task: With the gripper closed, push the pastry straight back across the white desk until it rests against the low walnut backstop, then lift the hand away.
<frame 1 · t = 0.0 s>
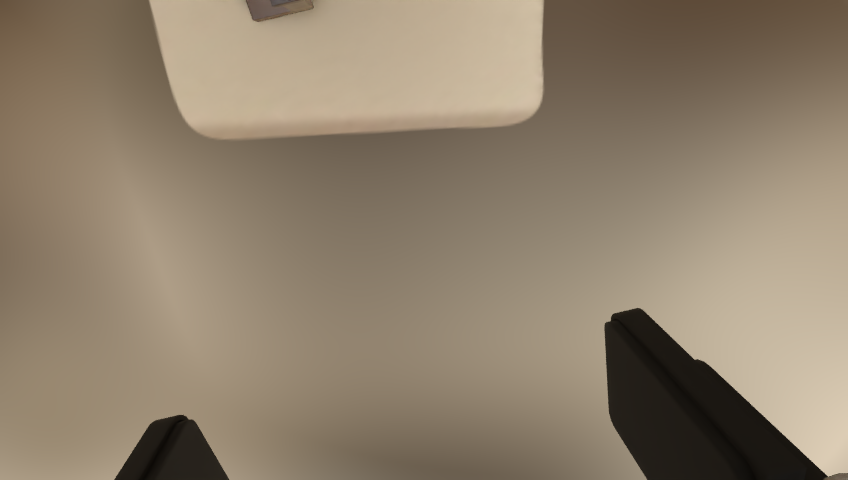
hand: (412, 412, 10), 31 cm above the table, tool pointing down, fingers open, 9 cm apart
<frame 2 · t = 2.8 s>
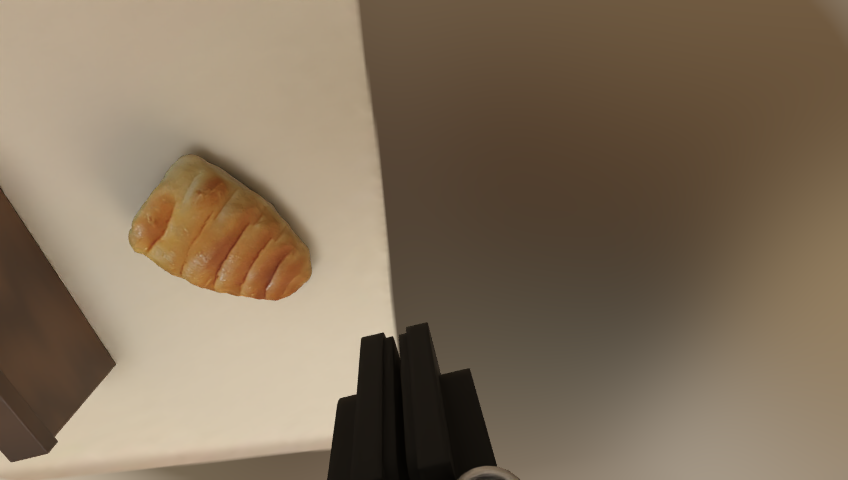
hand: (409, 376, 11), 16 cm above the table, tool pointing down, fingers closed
pastry: (230, 223, 25), on the table
backstop: (43, 276, 25), on the table
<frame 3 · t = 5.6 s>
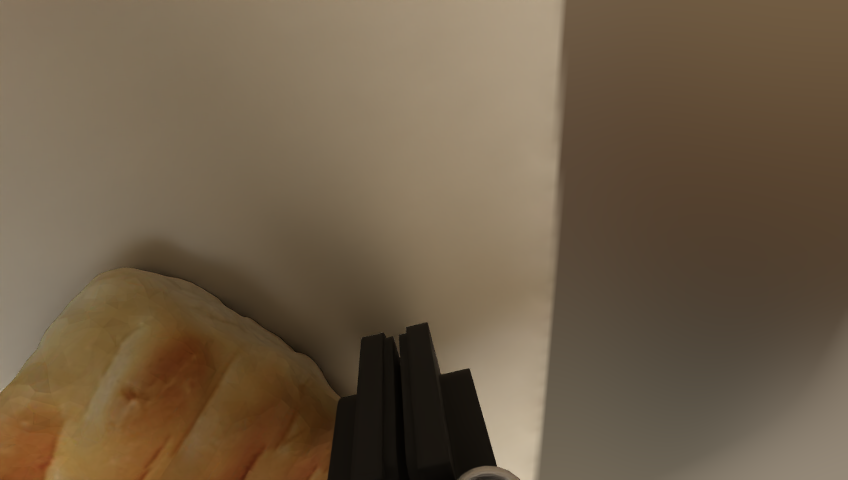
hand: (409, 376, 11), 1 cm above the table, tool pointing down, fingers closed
pastry: (221, 390, 12), on the table, touching gripper
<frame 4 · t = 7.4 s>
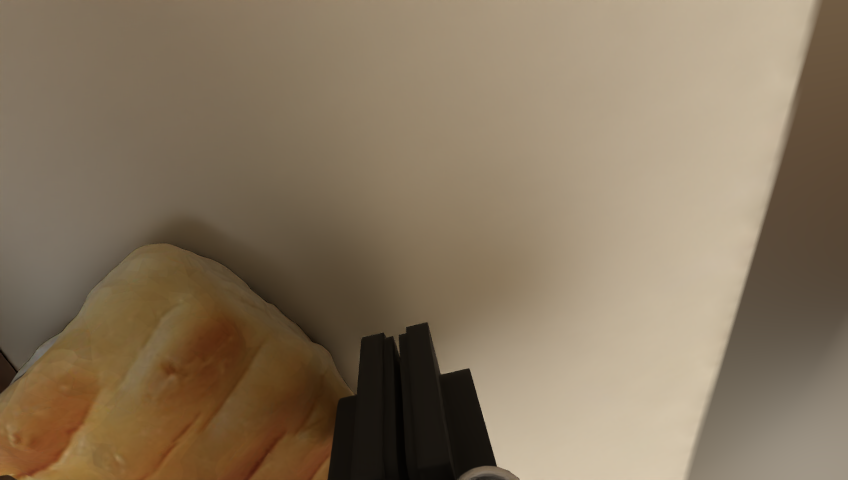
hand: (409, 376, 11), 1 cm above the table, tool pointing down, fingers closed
pastry: (231, 371, 12), on the table, touching gripper
backstop: (30, 430, 12), on the table
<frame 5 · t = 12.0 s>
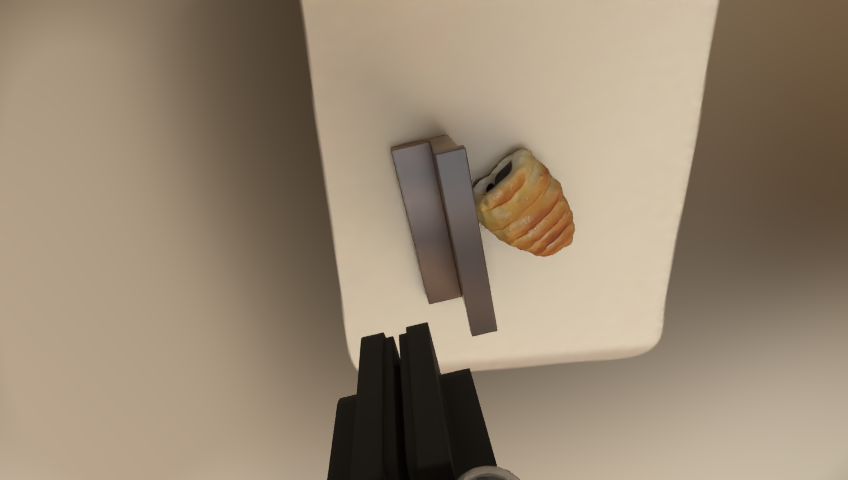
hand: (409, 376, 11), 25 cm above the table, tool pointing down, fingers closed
pastry: (519, 199, 36), on the table
backstop: (454, 218, 36), on the table
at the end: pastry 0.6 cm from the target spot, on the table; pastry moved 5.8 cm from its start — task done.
